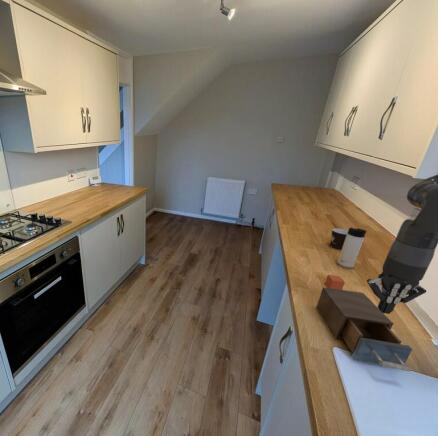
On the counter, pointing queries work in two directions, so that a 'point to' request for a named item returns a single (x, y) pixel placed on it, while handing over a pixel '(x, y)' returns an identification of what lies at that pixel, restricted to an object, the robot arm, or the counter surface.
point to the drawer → (375, 344)
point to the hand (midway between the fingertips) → (383, 311)
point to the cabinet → (348, 309)
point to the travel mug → (351, 247)
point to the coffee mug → (338, 238)
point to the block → (334, 282)
